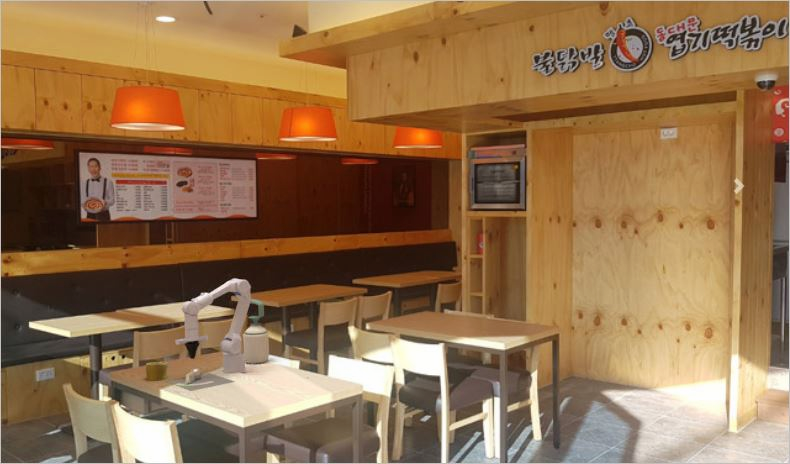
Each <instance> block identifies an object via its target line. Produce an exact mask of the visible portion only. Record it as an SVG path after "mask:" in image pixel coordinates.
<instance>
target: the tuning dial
mask: <svg viewBox="0 0 790 464" xmlns="http://www.w3.org/2000/svg"><path fill="white" fill-rule="evenodd" d="M201 369H202V368H200V367H193V368H190V372H188V373H186V374H185V378H186V382H185V384H187V383H191V382H193V381H194V380H199V379H201V375H202V371H201Z"/></svg>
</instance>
